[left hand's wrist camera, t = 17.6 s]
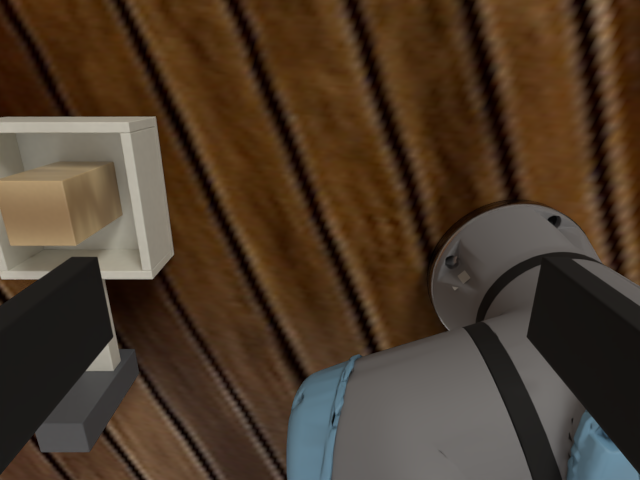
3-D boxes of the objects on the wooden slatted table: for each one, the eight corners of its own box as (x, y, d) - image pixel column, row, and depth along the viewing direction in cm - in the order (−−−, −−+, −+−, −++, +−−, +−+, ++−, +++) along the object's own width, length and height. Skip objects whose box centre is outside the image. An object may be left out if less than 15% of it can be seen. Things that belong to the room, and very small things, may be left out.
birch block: (123, 215, 39) (76, 246, 31) (69, 215, 39) (9, 246, 31) (114, 161, 37) (61, 180, 30) (58, 161, 37) (-9, 180, 30)
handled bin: (188, 361, 45) (145, 452, 34) (68, 361, 45) (-15, 452, 34) (156, 116, 36) (82, 130, 25) (6, 116, 36) (-133, 131, 25)
